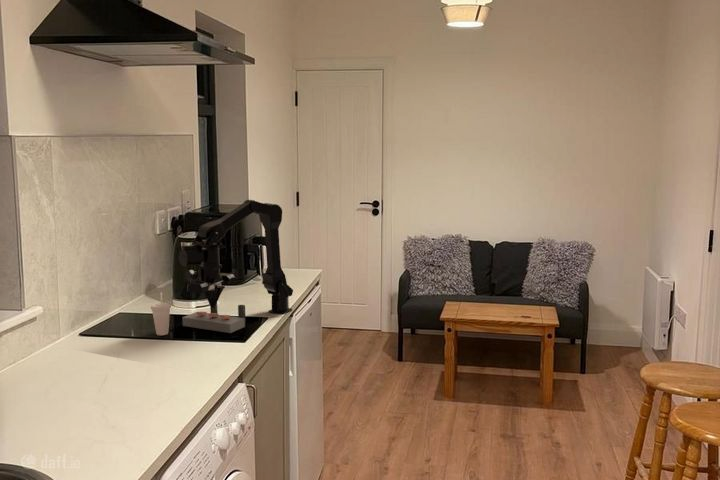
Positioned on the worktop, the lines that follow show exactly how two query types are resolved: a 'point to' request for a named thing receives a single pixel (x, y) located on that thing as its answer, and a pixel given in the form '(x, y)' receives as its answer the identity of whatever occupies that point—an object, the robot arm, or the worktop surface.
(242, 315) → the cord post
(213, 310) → the peg
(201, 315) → the paddle left
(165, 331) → the smoothie
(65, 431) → the worktop surface
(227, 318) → the paddle right
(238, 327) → the power strip
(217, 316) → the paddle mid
